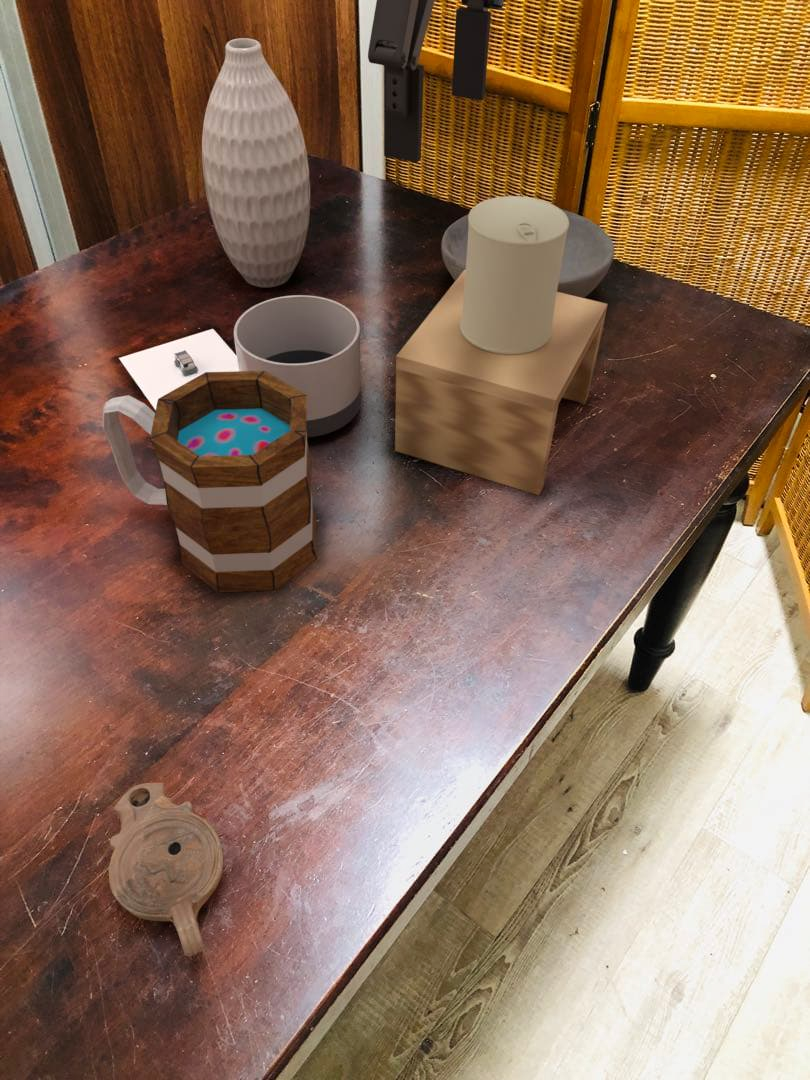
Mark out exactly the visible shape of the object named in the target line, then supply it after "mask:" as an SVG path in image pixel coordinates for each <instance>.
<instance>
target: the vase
mask: <svg viewBox="0 0 810 1080" xmlns="http://www.w3.org/2000/svg"><path fill="white" fill-rule="evenodd" d="M262 48H263V47H262V44H261V43H260V42H259V41H258V40H256V39H253V38H248V37H247V38H245V37H242V38H241V37H239V38H235V39H231V40H229V41H228V42H226V44H225V56H224V61H223V64H222V66H221V68H220V71H219V72H218V75H217V77H216V80H215V83H214V85H213V87H212V89H211V92H210V95H209V98H208V100H207V105H206V108H205V112H204V116H203V117H204V118H203V125H202V132H201V162H202V171H203V180H204V185H205V186H204V188H205V194H206V199H207V200H206V201H207V204H208V209H209V213H210V216H211V220H212V223H213V227H214V230H215V232H216V235H217V237H218V239H219V241H220V244H221V246H222V248H223V250H224V253H225V254H226V256H227V257H228V259H229V261H230V263H231V264H232V266H233V267H234V268H235V269H236V271H238V273H239V274H240V276H241V277H242V278H243V280H245V282H247V283H248V284H249V285H251V286H254V287H257V288H263V289H265V288H267V289H269V288H276V287H279V286H281V285H284V284H285V283H287V282H288V281H289V280H290V278H291V277H292V275H293V273H294V271H295V270H296V267H297V265H298V264H299V262H300V259H301V257H302V254H303V251H304V248H305V246H306V245H305V244H306V241H307V237H308V231H309V223H310V212H311V180H310V179H311V178H310V168H309V159H308V150H307V147H306V142H305V137H304V133H303V130H302V127H301V123H300V120H299V117H298V114H297V112H296V109H295V107H294V105H293V102H292V100H291V99H290V96H289V94H288V93H287V91H286V89H285V88H284V86H283V85H282V83H281V82H280V80H279V79H278V77H277V76H276V75H275V73H274V71H273V70H272V68H271V67H270V65H269V64H268V62H267V61H266V59H265V57H264V54H263V49H262Z"/></svg>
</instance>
